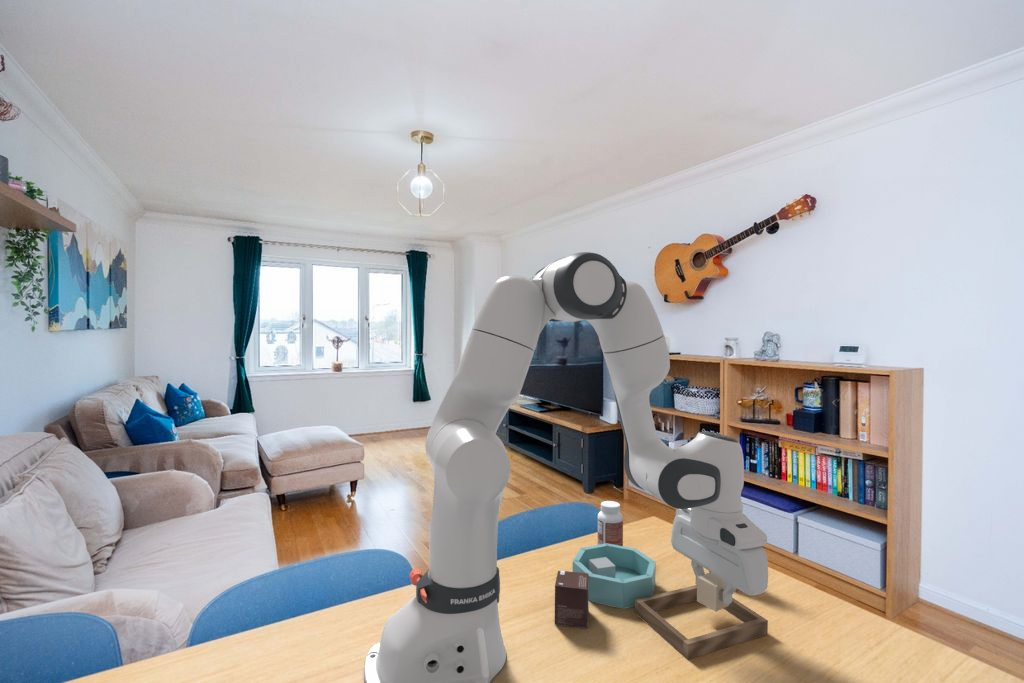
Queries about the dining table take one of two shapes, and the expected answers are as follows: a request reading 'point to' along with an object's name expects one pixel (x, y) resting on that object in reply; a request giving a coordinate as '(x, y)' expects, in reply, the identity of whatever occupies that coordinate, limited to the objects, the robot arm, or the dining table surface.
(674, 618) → the dining table surface
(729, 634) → the frame
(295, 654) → the dining table surface
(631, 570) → the bowl
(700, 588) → the beige matte cube
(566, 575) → the box
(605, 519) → the pill bottle
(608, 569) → the pale grey cube
